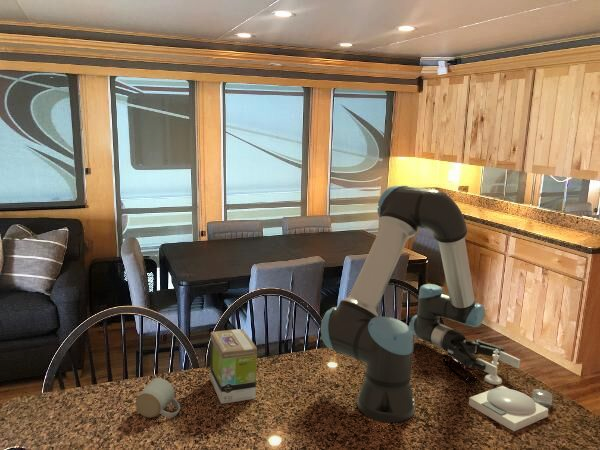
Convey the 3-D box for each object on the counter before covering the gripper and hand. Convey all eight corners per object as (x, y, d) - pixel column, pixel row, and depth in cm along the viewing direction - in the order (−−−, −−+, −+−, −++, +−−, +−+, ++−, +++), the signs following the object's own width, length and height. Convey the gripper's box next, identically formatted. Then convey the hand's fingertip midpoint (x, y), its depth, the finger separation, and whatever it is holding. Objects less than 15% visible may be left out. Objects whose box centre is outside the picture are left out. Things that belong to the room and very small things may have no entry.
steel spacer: (544, 410, 135) (545, 399, 135) (527, 401, 139) (528, 391, 139) (554, 405, 138) (556, 395, 137) (538, 397, 142) (539, 387, 141)
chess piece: (504, 384, 148) (508, 353, 146) (487, 384, 148) (491, 352, 146) (498, 376, 153) (501, 346, 151) (482, 376, 153) (485, 345, 151)
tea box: (257, 399, 135) (258, 347, 133) (220, 405, 132) (220, 352, 129) (242, 373, 149) (243, 327, 146) (209, 378, 145) (209, 330, 143)
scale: (513, 431, 124) (515, 420, 124) (468, 404, 136) (469, 394, 136) (547, 416, 132) (548, 406, 131) (501, 392, 143) (502, 382, 143)
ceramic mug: (133, 417, 125) (133, 390, 123) (148, 401, 132) (148, 375, 131) (172, 424, 123) (172, 396, 121) (185, 407, 130) (185, 381, 129)
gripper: (470, 344, 171) (529, 371, 152) (423, 357, 159) (481, 388, 141) (472, 323, 169) (532, 348, 151) (425, 335, 158) (483, 363, 139)
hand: (507, 367), depth 146 cm, fingers open, 10 cm apart
